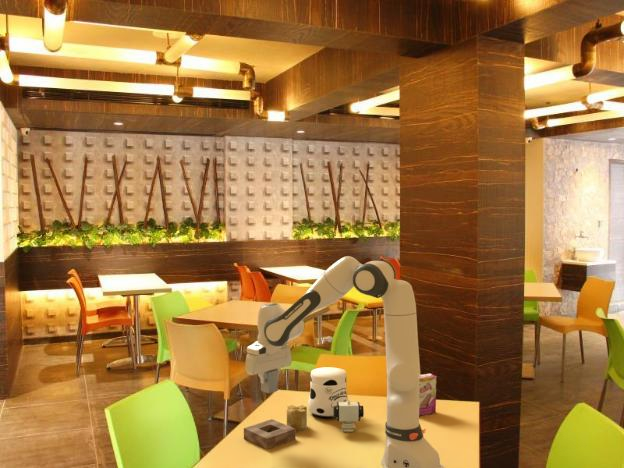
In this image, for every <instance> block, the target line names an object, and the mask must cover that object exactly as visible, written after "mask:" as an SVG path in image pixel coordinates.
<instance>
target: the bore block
mask: <svg viewBox="0 0 624 468" xmlns="http://www.w3.org/2000/svg"><path fill="white" fill-rule="evenodd" d="M243 439H244V440H247V441H249V442H251V443H253V444H254V445H257V446H259V447H261V448H264V449H265V450H269V449H271V448H275V447H276V446H280V445H283V444H285V443H288V442H291V441H295V440H296V430H295V428H292V427H290V426H288V425H287V424H285V423H282V422H280V421H277V420H275V419H269V420H265V421H262V422H259V423H256V424H252V425H250V426H247V427H244V428H243Z"/></svg>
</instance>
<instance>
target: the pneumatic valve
mask: <svg viewBox="0 0 624 468" xmlns="http://www.w3.org/2000/svg"><path fill="white" fill-rule="evenodd" d="M364 415H365V411H364V405H361V404H360V401H350V400H349V401H347V402H337V404H336V406H333V416H334V417H333V418H336V419H337V420H336V421H337V422H342V423H341V430H342V431H343V432H344V433H353V432H354V431H355V430H356V423H354V422H361V419H362V418H364Z"/></svg>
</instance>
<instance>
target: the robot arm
mask: <svg viewBox="0 0 624 468" xmlns="http://www.w3.org/2000/svg"><path fill="white" fill-rule="evenodd" d="M396 278H397V272H396V269H395V267H394V265H393V264H392V263H391V262H389V261H387V260H384V259H376V260H371V261H368V262H365V263H363V264H362V263H361V262H360V261H358V260H357V258H354V257H353V256H351V255H350V256H349V255H347V256H343V257H341V258H340V259H338V260H337V261H335V262H334V263H332V265H330V266H329V267H328V268H327V269H326V270H325V271H324V272H322V274H321V275H320V276H319V277H318V278H317V279H316V280H315V282H313V283H312V285H311V286H310V287H309V288H308V289H307V290H306V292H304V294H303V295H302V296H301V297H300V298H299V299H297V300H296V302H294V303H293V304H292V305H291V306H290V307H288V309H285V308H283V307H282V305H280V304H279V303H276V302H272V303H266V304H262V305H261V306H260V307H259V308H258V312H257V330H258V335H257V340H256V341H254V342H253V343H251V344H250V345H248V346H247V347H246V352H247V354H246V356H245V372H246V374H247V375H251V376H255V375H258V377H259V379H260V384H261V383H262V384H264V383H266V378H264V376H263V375H264V372H267V371H271V370H278V376H279V375H280V373H281V370H282V369H283V368H286V367H290V366H291V365H292V352H291V345H290V343H289V342H292V341H293V340H295V339H297V338H299V337H300V336H301V335H303V333H304V331H305V326H306V324H305V322H304V320H305V318H306V317H308V316H309V315H311V314H312V313H314V312H315V311H318V310H320V309H323V308H326V307H328V306H331V305H332V304H335V303H336V302H337V301H339V300H341V299H343V297H344V296H346V295H347V294H348V293H349V292H350V291H351V290H352V289H353V288H355V289H356V291H358V292H359V293H360V294H362V295H366V296H369V297H372V298H375V299H380V298H381V300H382V303H383V318H384V319H383V321H384V322H383V323H384V338H385V362H386V378H387V379H386V421H385V424H384V425H385V428H384V429H385V431H384V433H385V446H384V452H383V455H382V456H383V457H382V459H381V465H382V467H383V468H447V467H446V466H444V465H443V464H441V461H440V460H441V459H440V455H439V452H438V451H437V450H436V449H435V448H434V446H432V445H431V444H430V442H429V441H428V440H427V439H426V438H425V437H424V433H426V430H427V429H426V428H424V429H422V427H421V423H420V416H419V379H420V375H421V365H420V364H421V363H420V349H419V336H418V334H419V333H418V332H419V331H418V320H417V319H418V318H417V315H418V314H417V305H416V299H415V292H414V290H413V286H412V284H411V283H410V282H408V281H406V280H403V279H396Z"/></svg>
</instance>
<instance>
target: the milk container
mask: <svg viewBox="0 0 624 468" xmlns="http://www.w3.org/2000/svg"><path fill="white" fill-rule="evenodd" d="M309 383H310V384H309V385H310V392H309V396H308V403H307V404H308V410H309V411H310V413H311V414H312V415H315V416H316V417H320V418H335V417H334V416H333V406H336V404H337V402H347V401H350V400H349V397H348V392H347V383H348V382H347V371H346V370H344V369H342V368H339V367H338V368H337V367H329V366H327V367H318V368H314V369H312V370H311V371H310V382H309Z"/></svg>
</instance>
